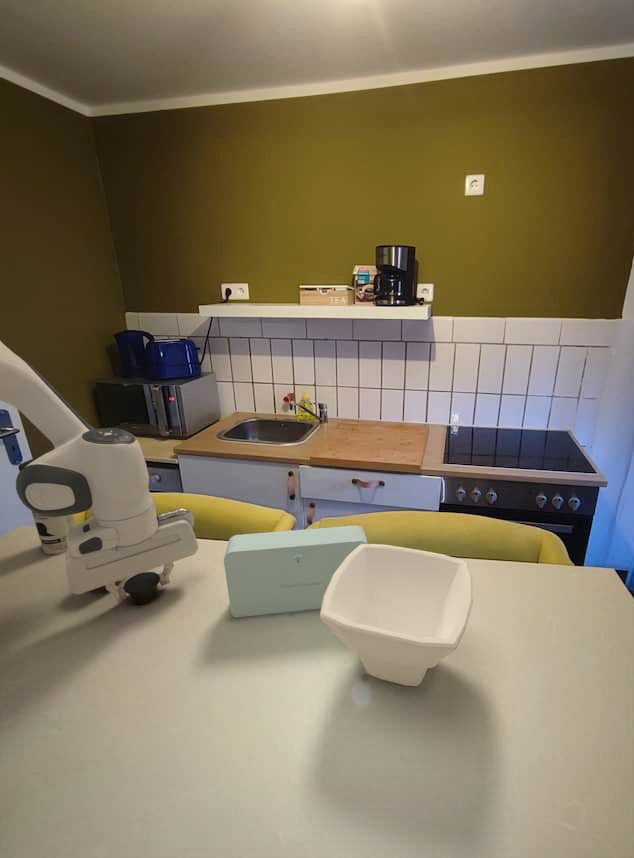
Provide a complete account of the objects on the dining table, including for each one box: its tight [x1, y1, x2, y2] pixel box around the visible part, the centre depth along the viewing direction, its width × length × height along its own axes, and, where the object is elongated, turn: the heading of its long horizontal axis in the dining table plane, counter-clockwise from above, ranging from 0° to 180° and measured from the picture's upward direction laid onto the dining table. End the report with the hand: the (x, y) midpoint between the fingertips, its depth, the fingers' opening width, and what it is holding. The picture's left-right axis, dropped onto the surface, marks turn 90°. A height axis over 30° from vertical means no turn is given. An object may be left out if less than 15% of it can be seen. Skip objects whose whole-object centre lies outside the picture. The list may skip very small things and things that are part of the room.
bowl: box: [319, 543, 474, 687], centre depth 61 cm, size 19×19×14 cm
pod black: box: [123, 571, 160, 606], centre depth 76 cm, size 6×6×4 cm
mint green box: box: [223, 524, 369, 618], centre depth 73 cm, size 23×6×13 cm, turn 98°
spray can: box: [17, 457, 77, 555], centre depth 90 cm, size 7×7×20 cm
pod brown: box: [93, 580, 122, 593], centre depth 80 cm, size 6×6×4 cm
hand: (143, 590), depth 76 cm, fingers closed on pod black, 6 cm apart
